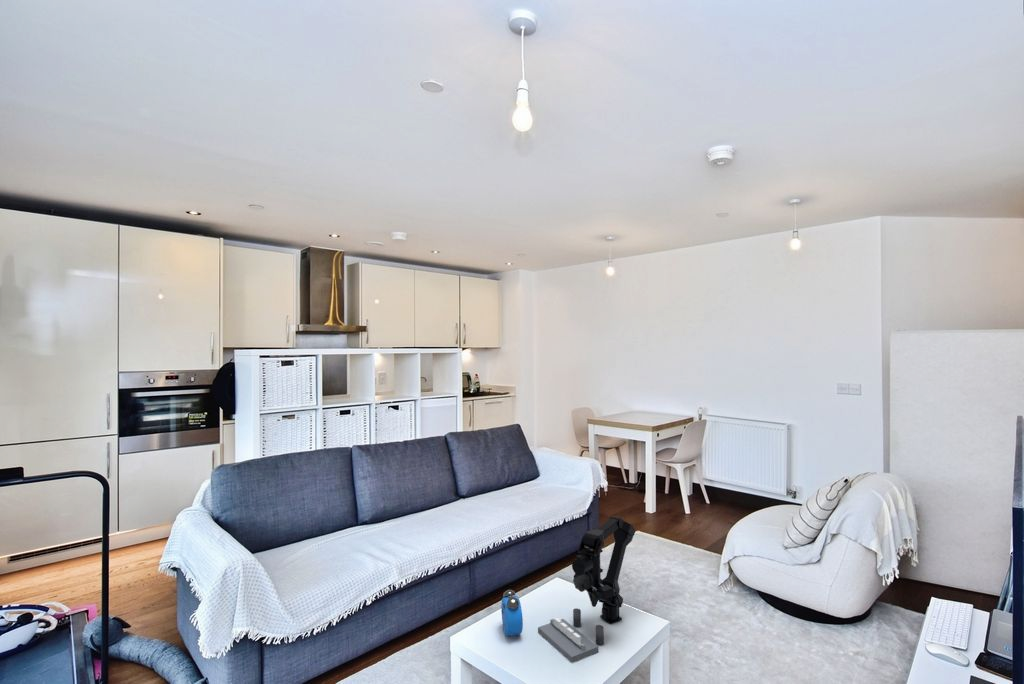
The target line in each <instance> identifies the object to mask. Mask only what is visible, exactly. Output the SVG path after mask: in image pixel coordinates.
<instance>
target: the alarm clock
mask: <svg viewBox="0 0 1024 684" xmlns="http://www.w3.org/2000/svg"><path fill="white" fill-rule="evenodd" d="M500 607H501V608H500V609H501V620H502V621H501V622H502V628H503V632H504V634H505V636H507V637H508V636H515V635H517V636H518V637H520V635H521V634H522V633H523V628H524V627H523V625H524V622H523V620H524V618H523V610H522V604H521V601H520V598H519V597H518V596H517V595H516V592H515V591H514V590H512V589H508V590H506V591H504V592H503V596H502V598H501V605H500Z"/></svg>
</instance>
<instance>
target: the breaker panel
mask: <svg viewBox="0 0 1024 684" xmlns="http://www.w3.org/2000/svg"><path fill="white" fill-rule="evenodd" d="M560 620H561V621H562V622H563V623H565V624H566V625H567V626H568V627H570V628H571V629H572V630H573V631H574V633H575V632H576V633H577V634H578V635H580V636H581V648H580V647H579V646H578V645H577V644H576V643H574V642H573V641H572V640H571V639H570V638H568V637H567V636H566V635H565V634H564V633H562V632H561V631H560V630H559V629H558V628H556V627H555V626H554V625H553V624H552V622H553V621H554V618H550V621H549V622H550V623H547V624H544V625H540V626H538V627H537V633H538V634H539V635H540V636H542V638H544V639H545V640H546V641H547V642H548V643H549V644H551V646H553V648H554V649H556V650H557V651H558V652H559V653H561V655H563V657H565V658H566V659H567V660H568V661H569V662H570V663H571V664H572V663H575V662H577V661H580V660H582V659H585V658H588V657H590V656H592V655H595V654H597V653H599V652H600V651H599V645H597V644H596V642H594V641H592V640H591V639H589V638H588V637H587V636H585V634H583V633H582V632H581V631H579V630H578V629H577V628H576V627H574V626H573V625H572V624H571V623H569V622H568V621H567V620H566V619H564V618H561V619H560Z"/></svg>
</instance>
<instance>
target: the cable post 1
mask: <svg viewBox="0 0 1024 684" xmlns="http://www.w3.org/2000/svg"><path fill="white" fill-rule="evenodd" d="M581 613H582V611H581V609H580V608H578V607H577V608H573V610H572V617H573V618H572V619H573V620H572V622H573V625H572V626H573V627H574V628H576V629H577V628H580V627H581V626H582V617H581V616H582V615H581Z"/></svg>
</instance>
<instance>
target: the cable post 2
mask: <svg viewBox="0 0 1024 684" xmlns="http://www.w3.org/2000/svg"><path fill="white" fill-rule="evenodd" d="M604 627H605V626H603V625H601V624H597V625H596V626H595V644H596V645H597V646H598V647H601V646H604V645H605V635H604V634H605V629H604Z"/></svg>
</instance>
